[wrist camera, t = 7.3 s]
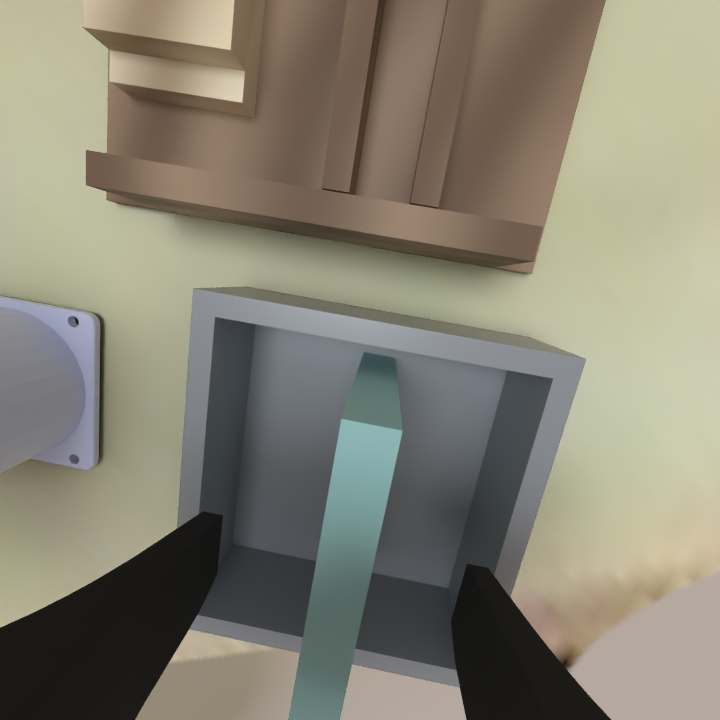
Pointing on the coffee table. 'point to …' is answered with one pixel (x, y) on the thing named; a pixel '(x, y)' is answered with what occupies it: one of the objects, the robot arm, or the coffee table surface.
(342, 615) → the sheet
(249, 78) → the offcut lower
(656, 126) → the coffee table surface
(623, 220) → the coffee table surface
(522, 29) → the rack
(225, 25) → the offcut upper
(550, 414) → the tote
